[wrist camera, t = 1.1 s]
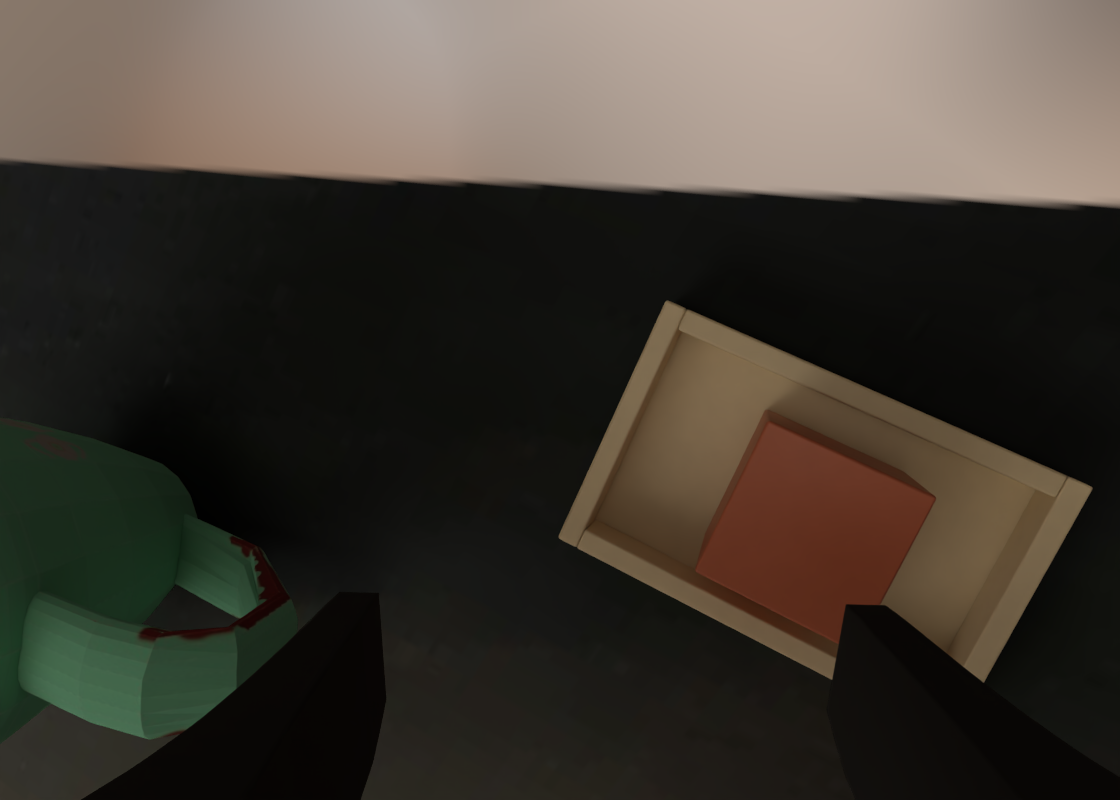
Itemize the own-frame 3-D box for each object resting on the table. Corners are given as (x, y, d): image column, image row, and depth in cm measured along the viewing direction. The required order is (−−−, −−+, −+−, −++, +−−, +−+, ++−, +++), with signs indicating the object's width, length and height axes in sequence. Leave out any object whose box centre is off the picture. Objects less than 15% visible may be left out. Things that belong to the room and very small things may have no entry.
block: (905, 472, 22) (938, 497, 18) (837, 601, 22) (855, 654, 18) (765, 408, 22) (767, 419, 18) (704, 535, 23) (693, 571, 19)
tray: (1064, 475, 21) (1094, 487, 19) (935, 709, 22) (951, 742, 20) (672, 303, 23) (666, 299, 21) (572, 524, 24) (557, 538, 22)
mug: (13, 631, 29) (-353, 767, 20) (33, 364, 29) (-338, 369, 19) (378, 727, 26) (156, 948, 16) (414, 430, 25) (201, 477, 16)
